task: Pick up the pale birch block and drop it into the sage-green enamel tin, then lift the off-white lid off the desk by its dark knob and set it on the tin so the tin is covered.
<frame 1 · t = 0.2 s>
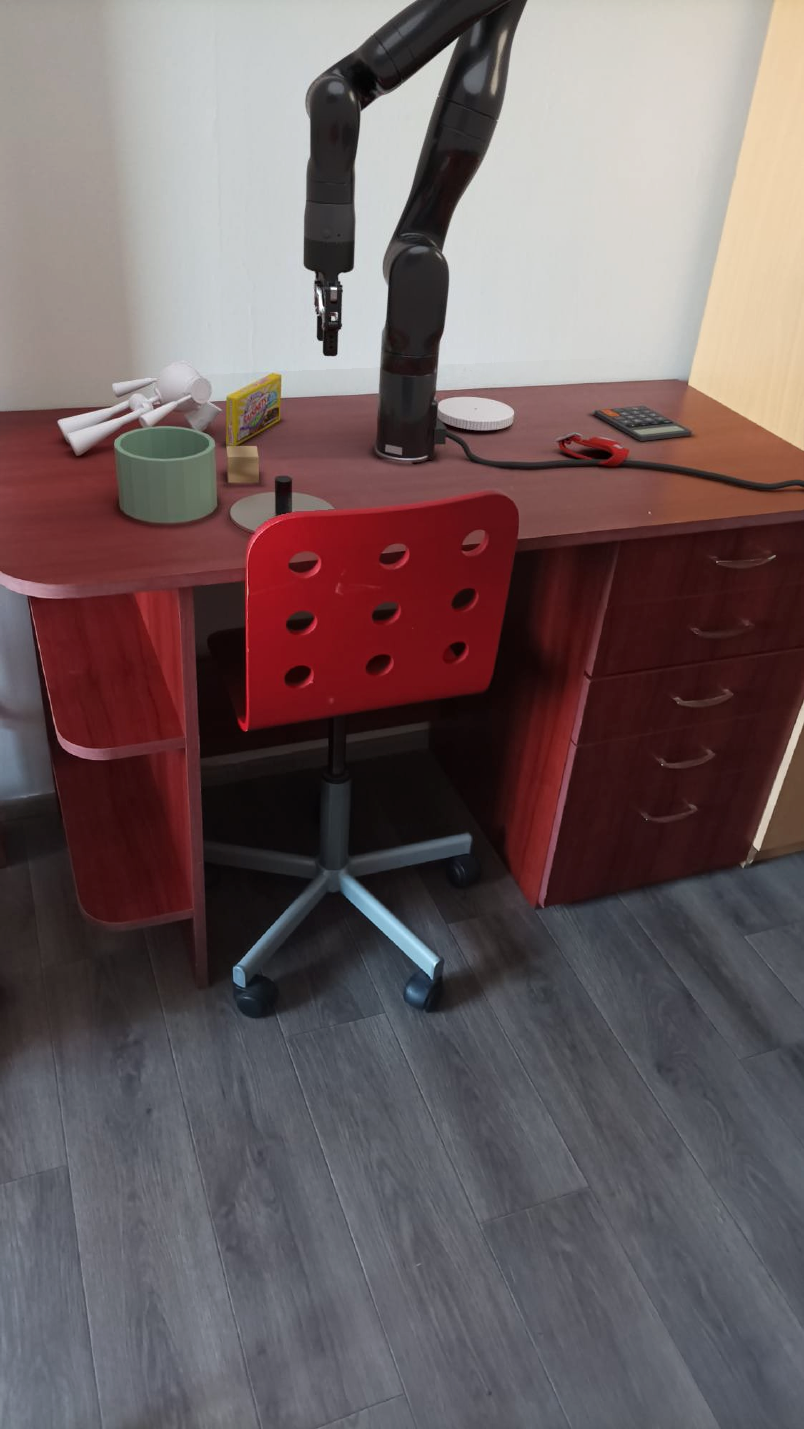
hand: (326, 347, 161), 17 cm above the table, tool pointing down, fingers open, 8 cm apart
calculator: (641, 425, 194), on the table
candy box: (254, 434, 177), on the table
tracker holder: (592, 457, 178), on the table
toy robot: (145, 442, 171), on the table
tin: (169, 506, 149), on the table
lid: (283, 516, 148), point 1 cm above the table
block: (242, 480, 160), on the table
plastic lid: (474, 423, 189), on the table
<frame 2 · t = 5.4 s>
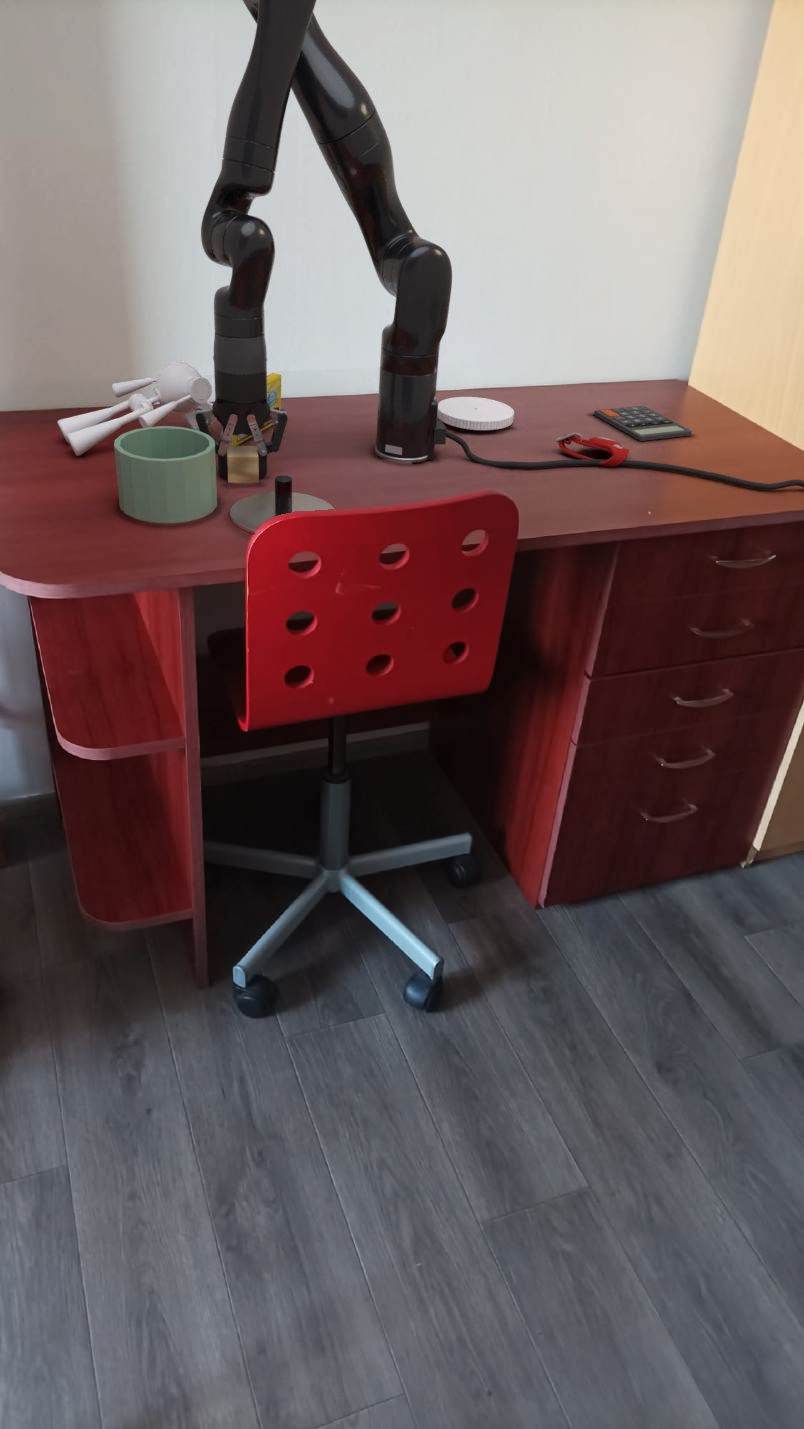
hand: (243, 476, 159), 1 cm above the table, tool pointing down, fingers closed on block, 4 cm apart
block: (242, 480, 160), on the table, touching gripper
everything else where it was.
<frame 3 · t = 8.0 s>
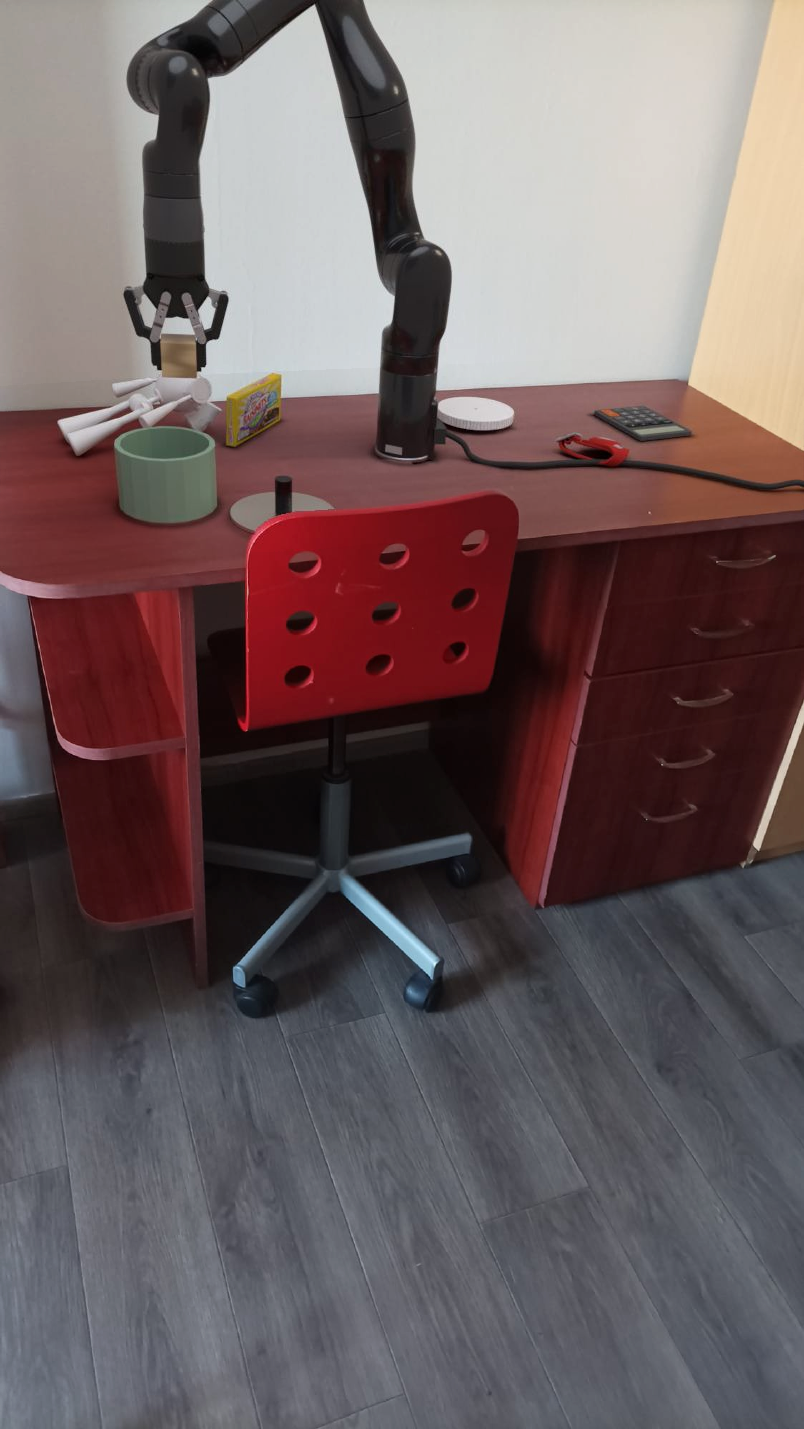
hand: (179, 369, 142), 19 cm above the table, tool pointing down, fingers closed on block, 4 cm apart
block: (179, 373, 142), point 18 cm above the table, touching gripper
everything else where it was.
when the fingers open (7 cm above the table, at t = 10.9 s): block drops 6 cm, resting on tin.
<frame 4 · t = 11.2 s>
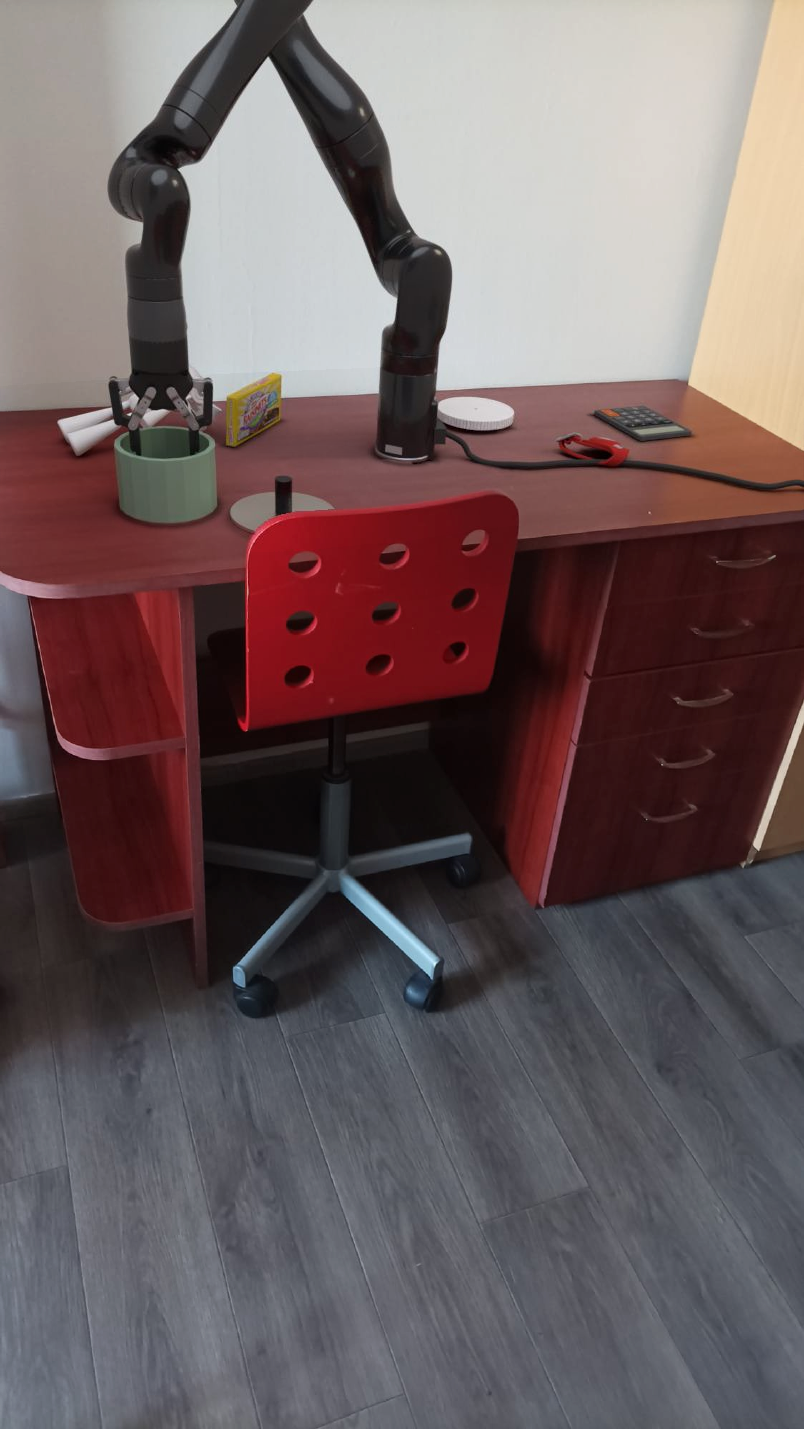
hand: (165, 454, 145), 8 cm above the table, tool pointing down, fingers open, 6 cm apart
block: (169, 503, 149), resting on tin
everything else where it was.
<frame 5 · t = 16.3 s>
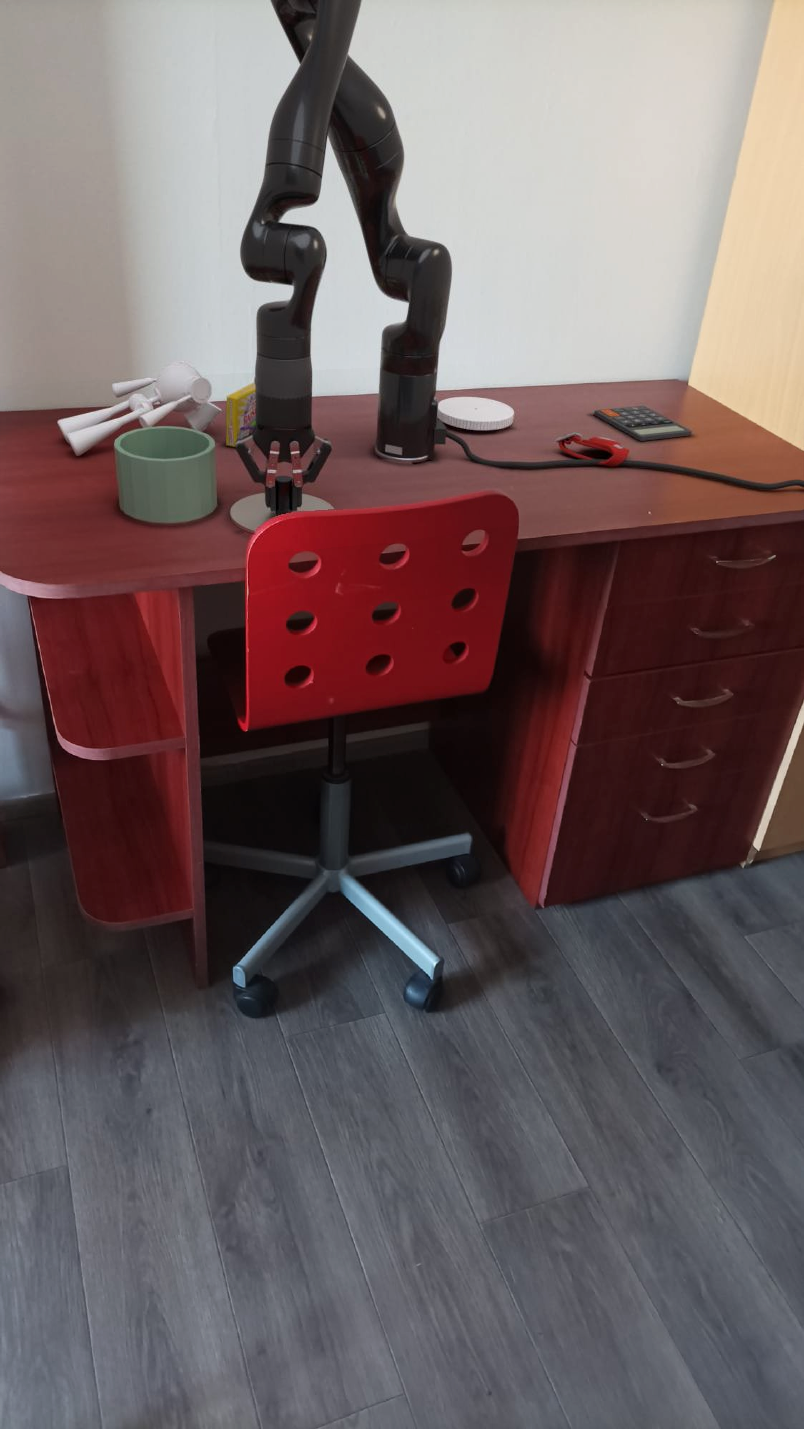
hand: (283, 508, 147), 2 cm above the table, tool pointing down, fingers closed on lid, 2 cm apart
lid: (283, 516, 148), point 1 cm above the table, touching gripper
everything else where it was.
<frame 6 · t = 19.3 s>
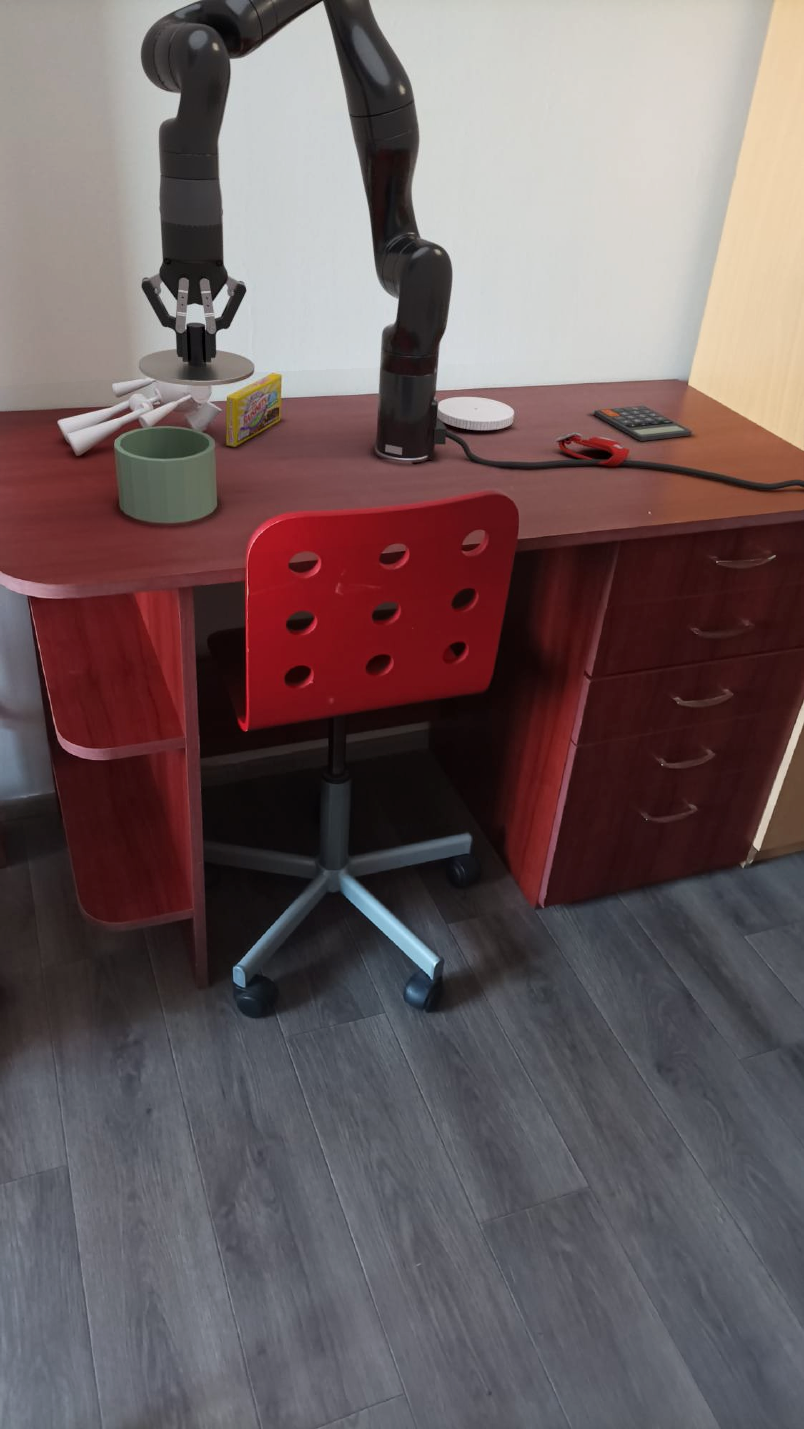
hand: (197, 360, 137), 21 cm above the table, tool pointing down, fingers closed on lid, 2 cm apart
lid: (197, 368, 137), point 20 cm above the table, touching gripper
everything else where it was.
when the fingers open (11 cm above the table, at t = 22.5 s): lid stays where it is, resting on tin.
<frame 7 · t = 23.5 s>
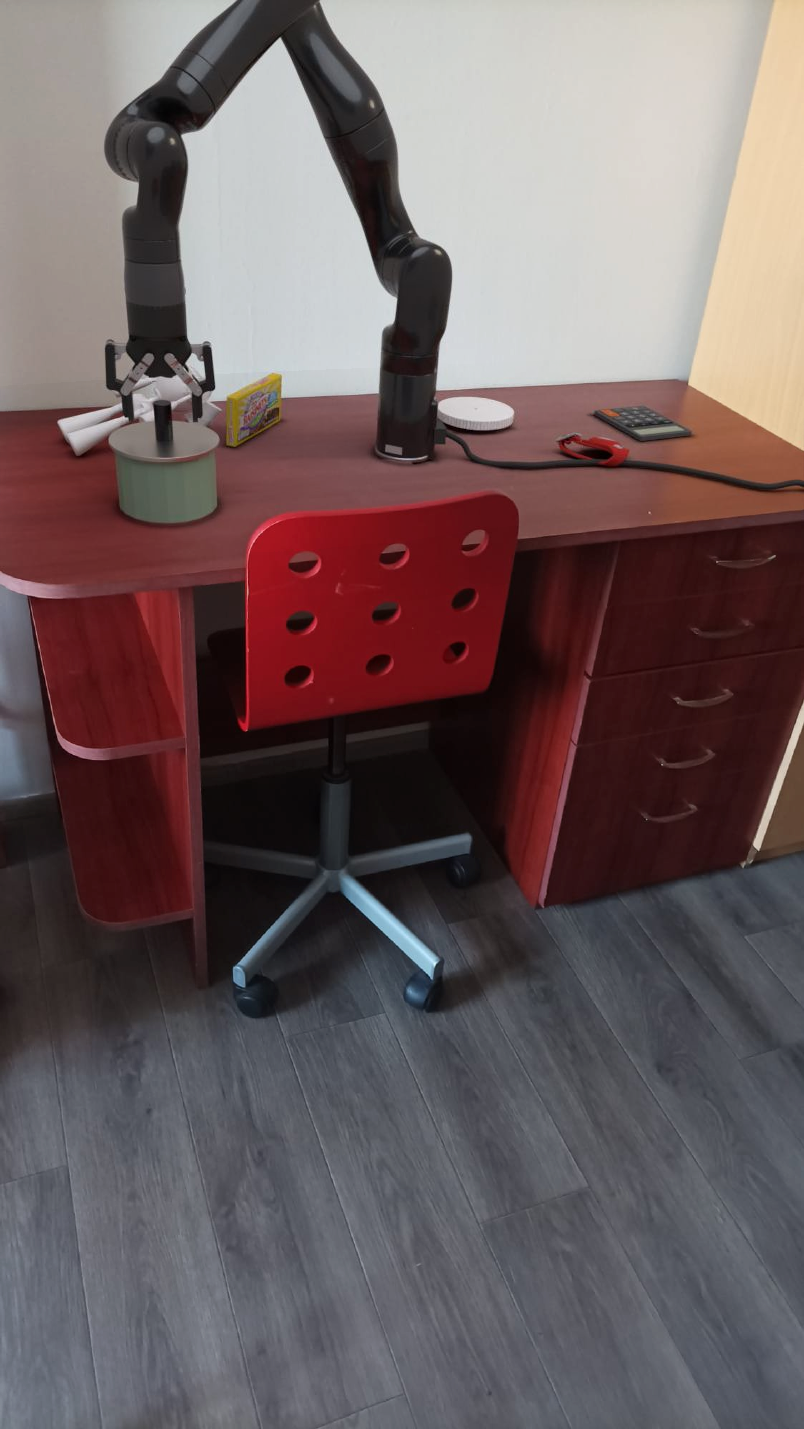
hand: (163, 420, 142), 13 cm above the table, tool pointing down, fingers open, 8 cm apart
lid: (164, 442, 144), point 9 cm above the table, touching tin
everything else where it was.
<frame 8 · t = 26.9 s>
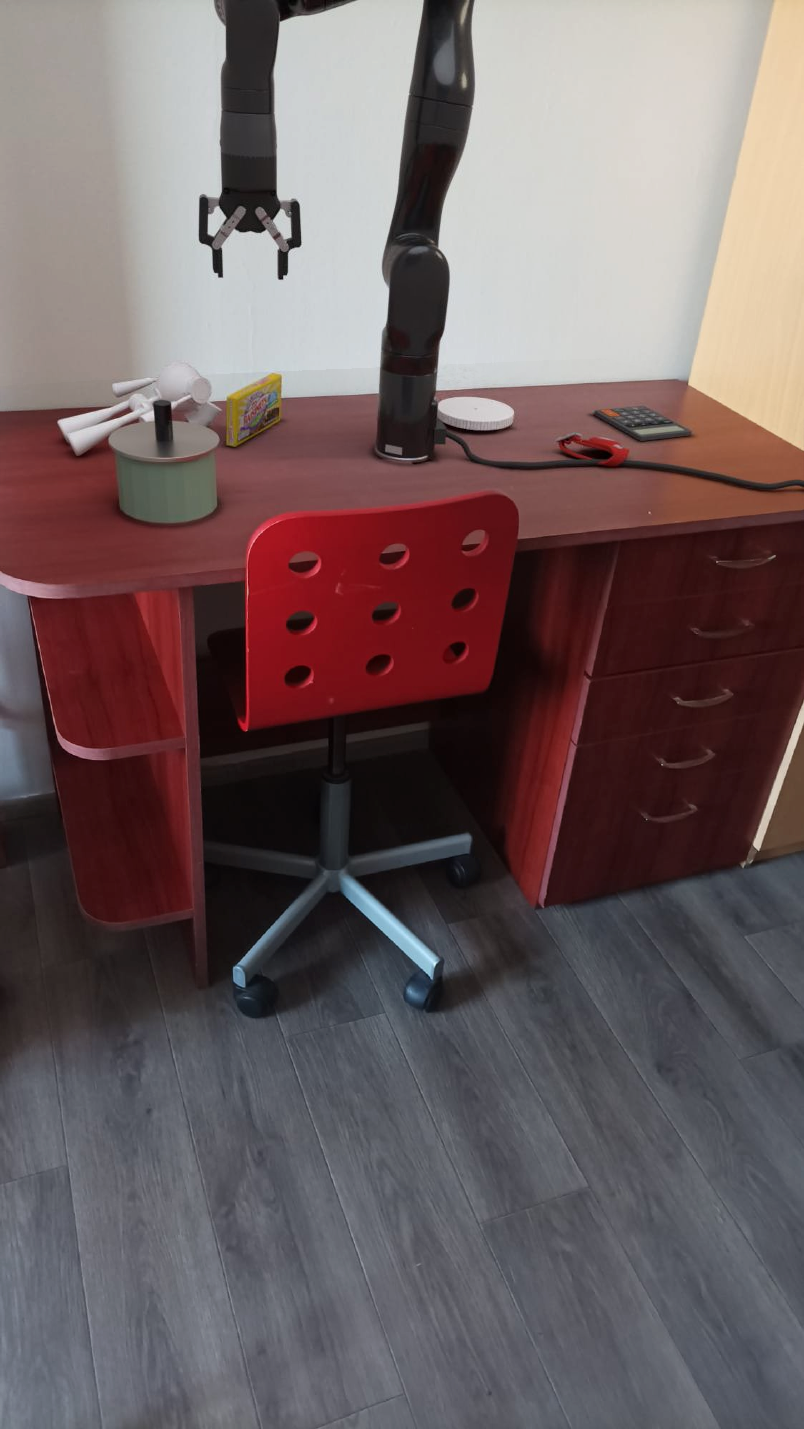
hand: (250, 277, 149), 28 cm above the table, tool pointing down, fingers open, 8 cm apart
nothing on the table moved.
at the end: block inside the target area in the tin (0.0 cm from its centre), point 0.5 cm above the tin's base; lid 0.0 cm off-centre on the tin, point 9.5 cm above the tin's base; lid tilted 0° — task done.
